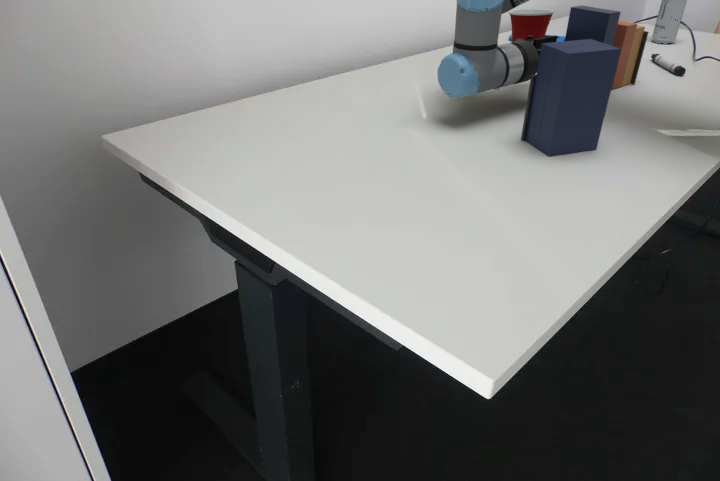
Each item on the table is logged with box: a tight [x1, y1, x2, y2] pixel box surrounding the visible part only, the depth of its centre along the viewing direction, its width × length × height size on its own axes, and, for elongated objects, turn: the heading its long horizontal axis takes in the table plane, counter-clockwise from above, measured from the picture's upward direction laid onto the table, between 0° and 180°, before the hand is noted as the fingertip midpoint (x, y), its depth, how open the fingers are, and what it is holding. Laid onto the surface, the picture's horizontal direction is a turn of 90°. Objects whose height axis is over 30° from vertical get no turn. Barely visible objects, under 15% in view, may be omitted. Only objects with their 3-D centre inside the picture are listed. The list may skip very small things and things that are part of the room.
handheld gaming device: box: [508, 33, 566, 42], centre depth 155 cm, size 8×1×15 cm
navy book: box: [564, 5, 621, 46], centre depth 112 cm, size 4×9×16 cm, turn 34°
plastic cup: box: [508, 8, 555, 43], centre depth 134 cm, size 11×11×12 cm
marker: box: [650, 53, 687, 77], centre depth 130 cm, size 15×2×2 cm, turn 179°
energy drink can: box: [651, 0, 688, 45], centre depth 148 cm, size 6×6×15 cm
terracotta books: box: [611, 20, 650, 91], centre depth 117 cm, size 8×10×13 cm
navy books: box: [520, 39, 621, 157], centre depth 86 cm, size 8×10×16 cm
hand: (582, 48), depth 111 cm, fingers open, 13 cm apart
